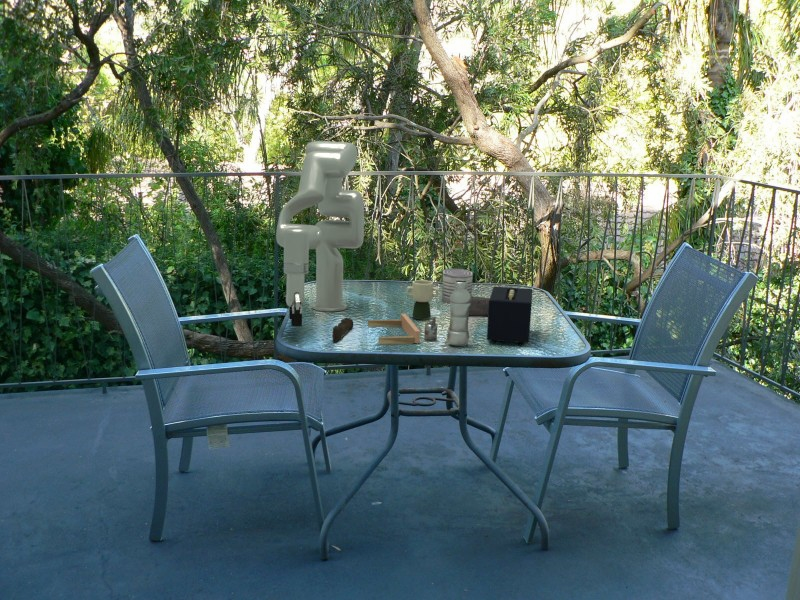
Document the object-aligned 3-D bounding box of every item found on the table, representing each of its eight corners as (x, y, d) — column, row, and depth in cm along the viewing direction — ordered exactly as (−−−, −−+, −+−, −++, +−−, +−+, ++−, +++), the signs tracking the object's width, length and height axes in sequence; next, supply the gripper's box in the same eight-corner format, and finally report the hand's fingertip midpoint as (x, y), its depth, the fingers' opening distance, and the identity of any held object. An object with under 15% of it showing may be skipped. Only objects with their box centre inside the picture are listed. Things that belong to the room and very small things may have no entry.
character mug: (437, 317, 292) (438, 280, 289) (437, 322, 285) (438, 284, 282) (406, 315, 292) (407, 279, 289) (405, 320, 285) (406, 283, 282)
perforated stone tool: (499, 314, 299) (500, 295, 298) (501, 317, 294) (502, 298, 293) (457, 313, 299) (458, 294, 297) (459, 316, 294) (460, 297, 292)
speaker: (491, 327, 280) (493, 284, 276) (529, 330, 277) (532, 286, 274) (486, 344, 259) (489, 297, 255) (528, 347, 257) (531, 300, 253)
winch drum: (422, 338, 264) (423, 312, 262) (435, 337, 264) (436, 312, 263) (427, 343, 258) (428, 317, 256) (439, 342, 259) (440, 317, 257)
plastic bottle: (445, 342, 260) (448, 279, 255) (467, 342, 260) (470, 279, 256) (448, 347, 253) (451, 283, 249) (470, 348, 254) (473, 283, 250)
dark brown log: (341, 328, 273) (341, 315, 272) (353, 329, 272) (353, 315, 271) (325, 344, 255) (325, 329, 254) (337, 344, 254) (337, 330, 253)
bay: (367, 325, 277) (368, 320, 276) (400, 325, 279) (400, 319, 278) (379, 344, 255) (379, 338, 254) (414, 343, 257) (415, 337, 256)
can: (469, 299, 322) (470, 268, 319) (473, 306, 311) (475, 274, 308) (439, 298, 321) (441, 268, 319) (443, 305, 310) (444, 273, 308)
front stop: (400, 325, 279) (400, 313, 278) (405, 325, 279) (405, 313, 278) (414, 343, 257) (415, 331, 256) (419, 343, 257) (420, 331, 256)
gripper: (282, 263, 264) (281, 316, 267) (285, 272, 247) (284, 329, 250) (306, 263, 265) (305, 316, 268) (310, 272, 248) (310, 329, 252)
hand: (295, 322), depth 259 cm, fingers open, 9 cm apart
